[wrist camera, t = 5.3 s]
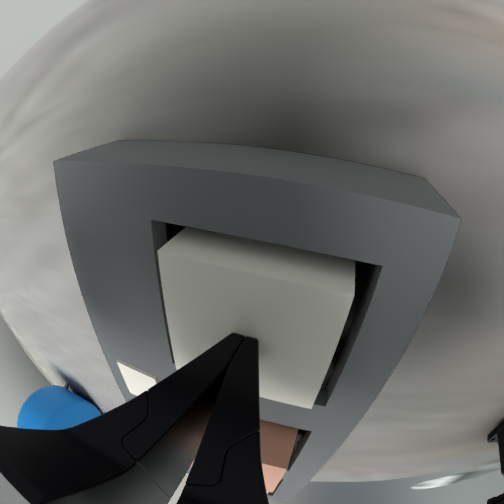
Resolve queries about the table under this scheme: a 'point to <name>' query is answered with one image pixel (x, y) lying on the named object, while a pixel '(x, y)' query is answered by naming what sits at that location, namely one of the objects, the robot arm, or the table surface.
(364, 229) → the console
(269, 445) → the terracotta key
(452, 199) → the table surface
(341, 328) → the cream key
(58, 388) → the alarm clock
